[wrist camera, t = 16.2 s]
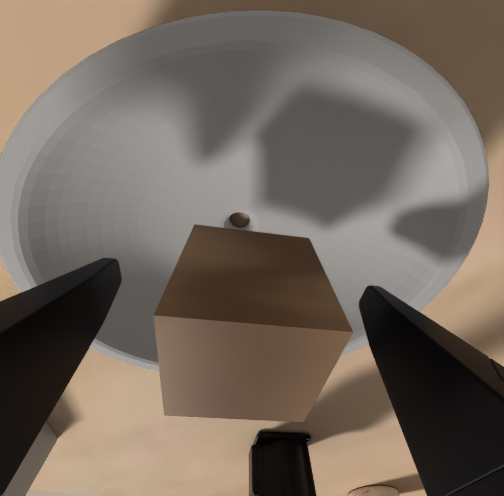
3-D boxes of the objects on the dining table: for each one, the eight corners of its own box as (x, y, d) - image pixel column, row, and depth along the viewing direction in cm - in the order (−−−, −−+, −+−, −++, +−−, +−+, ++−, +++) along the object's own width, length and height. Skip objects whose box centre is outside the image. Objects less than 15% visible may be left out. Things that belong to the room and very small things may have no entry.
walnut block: (309, 238, 8) (353, 332, 5) (284, 316, 10) (303, 422, 7) (194, 224, 8) (153, 315, 4) (193, 308, 10) (164, 415, 6)
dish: (421, -9, 9) (595, -122, 4) (391, 284, 16) (443, 349, 12) (9, 117, 10) (-156, 125, 6) (152, 326, 18) (122, 396, 14)
